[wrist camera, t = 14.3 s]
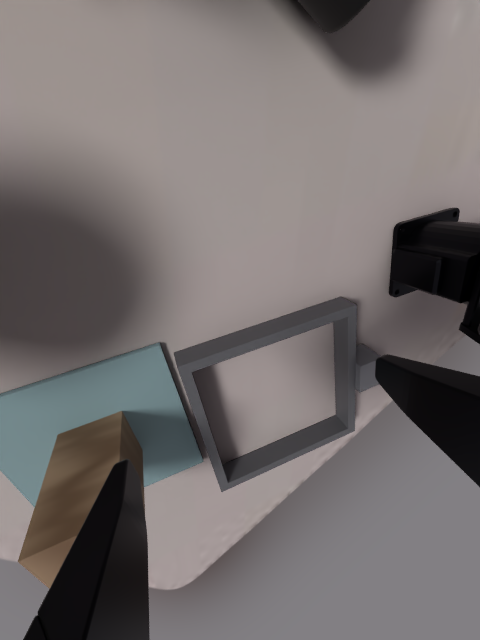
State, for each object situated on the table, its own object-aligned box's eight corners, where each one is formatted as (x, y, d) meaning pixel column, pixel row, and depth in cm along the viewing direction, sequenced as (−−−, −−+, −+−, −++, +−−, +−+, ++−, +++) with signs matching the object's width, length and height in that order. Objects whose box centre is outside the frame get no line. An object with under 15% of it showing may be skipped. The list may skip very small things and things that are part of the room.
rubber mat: (159, 342, 20) (159, 345, 20) (202, 458, 26) (203, 461, 26) (-49, 409, 17) (-52, 413, 17) (53, 521, 23) (52, 526, 23)
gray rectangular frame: (364, 288, 25) (387, 298, 22) (360, 409, 31) (378, 426, 29) (173, 352, 21) (178, 372, 19) (216, 473, 28) (223, 498, 25)
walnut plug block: (122, 410, 21) (116, 517, 14) (142, 450, 23) (146, 560, 16) (57, 434, 20) (17, 561, 13) (85, 473, 22) (63, 600, 15)
